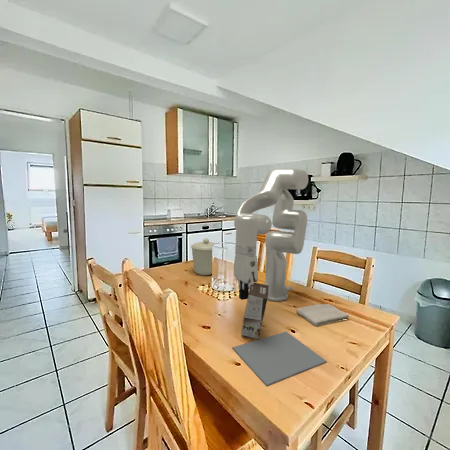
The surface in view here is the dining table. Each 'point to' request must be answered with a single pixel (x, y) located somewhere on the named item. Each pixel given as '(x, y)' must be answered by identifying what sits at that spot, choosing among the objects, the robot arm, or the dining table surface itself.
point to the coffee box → (255, 310)
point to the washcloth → (321, 314)
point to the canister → (202, 257)
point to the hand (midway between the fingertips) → (243, 298)
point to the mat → (278, 357)
